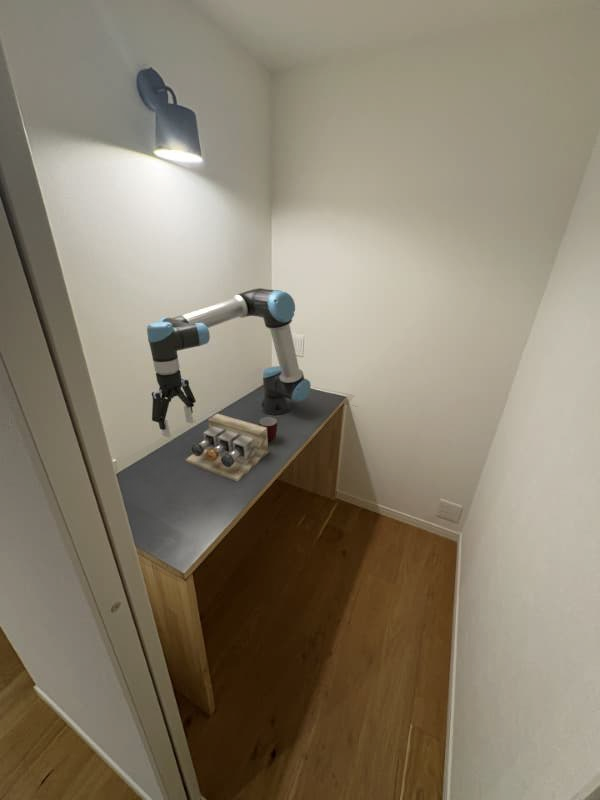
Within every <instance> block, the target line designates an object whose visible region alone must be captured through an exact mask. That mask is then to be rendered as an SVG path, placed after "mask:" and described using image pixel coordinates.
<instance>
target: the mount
mask: <svg viewBox="0 0 600 800" xmlns="http://www.w3.org/2000/svg"><path fill="white" fill-rule="evenodd" d="M207 421H208V422H207V423H208V428H207V429H206V430H205V431H204V432H203V437H204V438H203V440H204V439H206V438H207V437H209V436H210V437H212V438H213V439H214V444H212V445H211V446H210V447H208V448H207V449H206V450H204V451H203V454H201V455H200V456H196V455H194V454H193V453H192V454H191V455H190V456H188V457H186V459H185V462H186V463H188V464H191V465H194V466H196V467H199V468H201V469H204V470H206V471H209V472H212V473H214V474H217V475H219V476H221V477H225V478H227V479H230V480H232V481H235V482H239V481H240V480H242V478H243V477H245V475H246V474H248V473H249V471H251V470H252V469H253V468H254V467H255V465H257V464H259V462H260V461H261V460H262V459H263V458H264V457H265V456H266V455H267V454H269V446H268V445H269V443H268V439H267V428H266V427H263V426H259V424H255V423H251V422H249V421H245V420H241V419H237V418H233V417H230V416H227V415H224V414H220V413H216V414H214V415H213V416H211V417H209V418H208V419H207ZM222 441H225V442H227V443H228V445H229V448H228V449H227V450H225V451H224V452H223V453H222V454H220V455H219V456H218V459H217V460H215V461H214V462H212V461H210V460H209V459H208V458H207V457H206V452H207V451H208V450H209V449H213V448H215V447H216V446H217V445H218V444H220V443H221V442H222ZM237 446H241V447H242V448H243V450H244V453H243V454H242V455H241V456H240V457H239V458H237V459H236V460H235V461H234V464H233V465H232V466H231V467H226V466H224V465H223V463H222V461H221V458H222V457H223V456H224V455H225V454H229V453H230V452H231V451H232V450H234V449H235V448H236V447H237Z"/></svg>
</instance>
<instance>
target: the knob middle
mask: <svg viewBox="0 0 600 800" xmlns="http://www.w3.org/2000/svg"><path fill="white" fill-rule="evenodd" d="M228 448H229V445H228V443H227V442H225V441H222V442H221V443H220V444H218V445H217V446H216V447H215V448H213V449H209V450H208V451H207V452H206V457H207V458H208V459H209V460H210V461H212V462H214V461H215V460H217V459H218V456H219V455H220V454H222V453H223V452H224V451H225V450H227V449H228Z"/></svg>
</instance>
